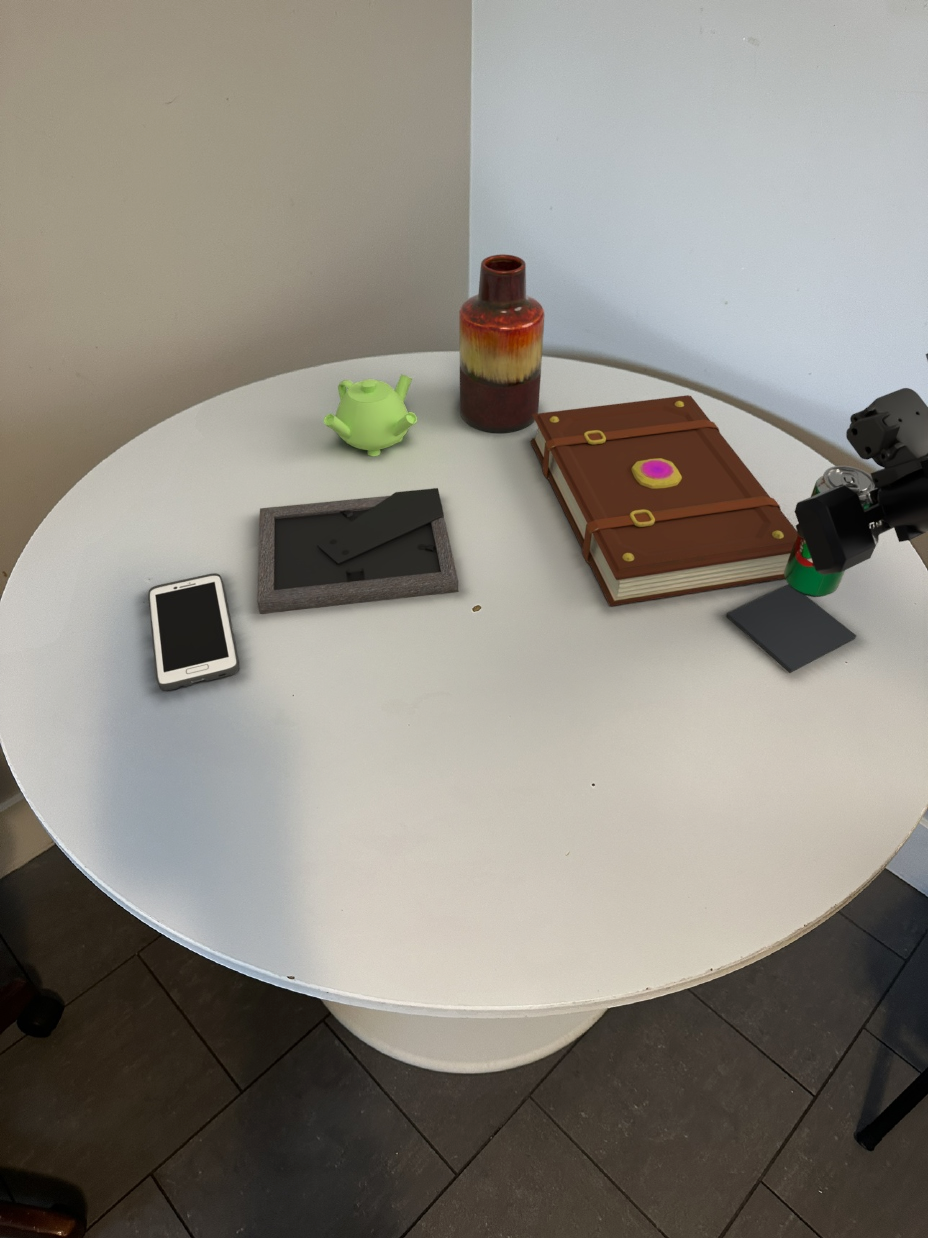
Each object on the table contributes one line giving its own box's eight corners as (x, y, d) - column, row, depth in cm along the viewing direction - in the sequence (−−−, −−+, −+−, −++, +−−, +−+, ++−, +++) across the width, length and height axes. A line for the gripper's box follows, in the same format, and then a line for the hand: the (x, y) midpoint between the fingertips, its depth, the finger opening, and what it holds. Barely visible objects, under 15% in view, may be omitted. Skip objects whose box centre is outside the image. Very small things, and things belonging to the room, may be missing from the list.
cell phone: (159, 694, 78) (156, 687, 77) (149, 593, 87) (146, 586, 87) (241, 674, 79) (239, 667, 79) (222, 577, 89) (220, 570, 88)
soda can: (831, 566, 80) (873, 464, 72) (842, 602, 77) (887, 498, 68) (778, 563, 81) (814, 461, 72) (786, 598, 77) (825, 495, 69)
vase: (554, 414, 112) (567, 264, 98) (494, 442, 107) (498, 289, 93) (502, 383, 118) (507, 238, 103) (444, 408, 113) (440, 260, 99)
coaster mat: (789, 586, 88) (790, 582, 87) (855, 639, 82) (856, 635, 82) (726, 616, 85) (727, 612, 84) (790, 673, 79) (791, 669, 79)
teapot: (333, 418, 112) (326, 361, 106) (417, 415, 112) (414, 358, 106) (329, 465, 104) (320, 407, 98) (419, 462, 104) (416, 403, 98)
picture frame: (438, 501, 99) (262, 518, 96) (438, 487, 97) (259, 505, 95) (458, 591, 88) (259, 613, 85) (458, 577, 86) (256, 600, 84)
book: (607, 607, 86) (613, 572, 82) (528, 442, 107) (530, 409, 104) (806, 576, 89) (820, 540, 85) (690, 422, 111) (697, 388, 107)
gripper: (1022, 347, 63) (861, 410, 78) (853, 413, 57) (712, 468, 71) (1068, 483, 64) (899, 520, 78) (906, 563, 57) (755, 587, 72)
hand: (819, 520), depth 75 cm, fingers closed on soda can, 5 cm apart
